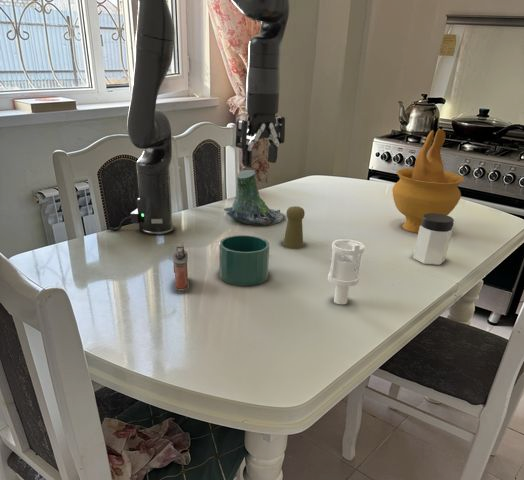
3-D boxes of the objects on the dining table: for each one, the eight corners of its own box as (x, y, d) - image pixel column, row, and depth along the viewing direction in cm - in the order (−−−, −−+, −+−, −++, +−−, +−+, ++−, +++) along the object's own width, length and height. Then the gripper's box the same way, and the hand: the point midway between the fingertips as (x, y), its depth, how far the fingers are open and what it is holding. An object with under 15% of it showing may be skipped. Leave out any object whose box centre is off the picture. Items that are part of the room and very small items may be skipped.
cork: (301, 249, 145) (305, 211, 139) (281, 247, 146) (283, 209, 140) (304, 242, 150) (307, 205, 144) (284, 240, 151) (287, 203, 145)
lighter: (175, 278, 124) (173, 239, 119) (189, 278, 124) (188, 240, 119) (173, 293, 117) (171, 252, 112) (188, 293, 118) (186, 252, 112)
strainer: (335, 310, 113) (343, 247, 105) (319, 297, 119) (326, 235, 111) (361, 305, 116) (371, 243, 108) (345, 293, 121) (354, 232, 113)
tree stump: (296, 222, 167) (291, 169, 155) (247, 245, 160) (238, 193, 148) (264, 205, 179) (258, 155, 167) (217, 226, 172) (207, 176, 160)
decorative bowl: (428, 243, 153) (451, 138, 137) (373, 225, 166) (389, 127, 151) (464, 231, 166) (489, 133, 150) (410, 214, 179) (428, 123, 163)
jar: (451, 263, 141) (462, 221, 134) (428, 267, 138) (438, 224, 131) (429, 252, 147) (438, 211, 141) (407, 255, 144) (416, 214, 138)
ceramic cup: (219, 285, 122) (219, 252, 117) (219, 266, 132) (219, 234, 128) (269, 286, 123) (271, 253, 118) (265, 266, 133) (267, 235, 129)
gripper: (272, 87, 121) (269, 158, 129) (228, 89, 112) (227, 165, 121) (295, 90, 116) (290, 163, 125) (251, 93, 108) (249, 171, 116)
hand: (259, 164), depth 123 cm, fingers open, 8 cm apart
